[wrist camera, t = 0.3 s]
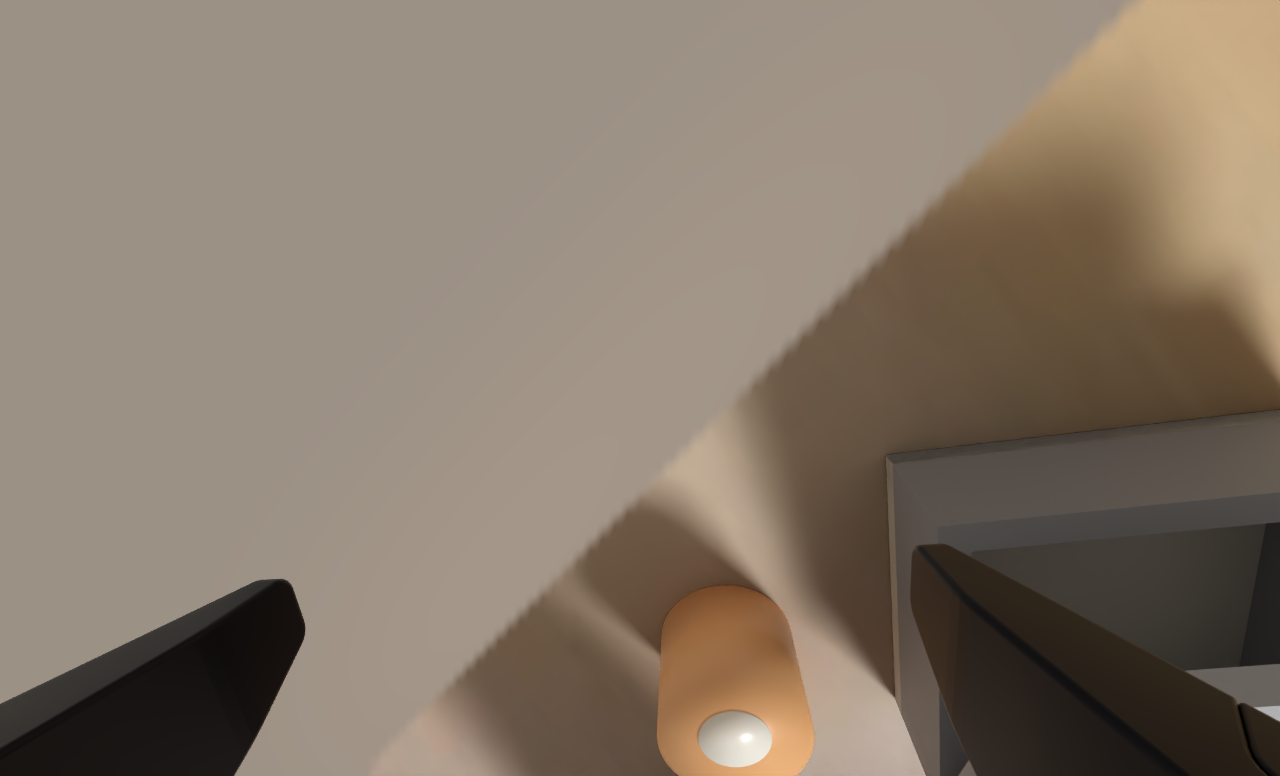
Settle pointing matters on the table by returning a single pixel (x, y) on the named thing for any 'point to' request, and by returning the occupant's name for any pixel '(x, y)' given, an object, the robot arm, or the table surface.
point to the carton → (1100, 543)
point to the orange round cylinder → (731, 688)
